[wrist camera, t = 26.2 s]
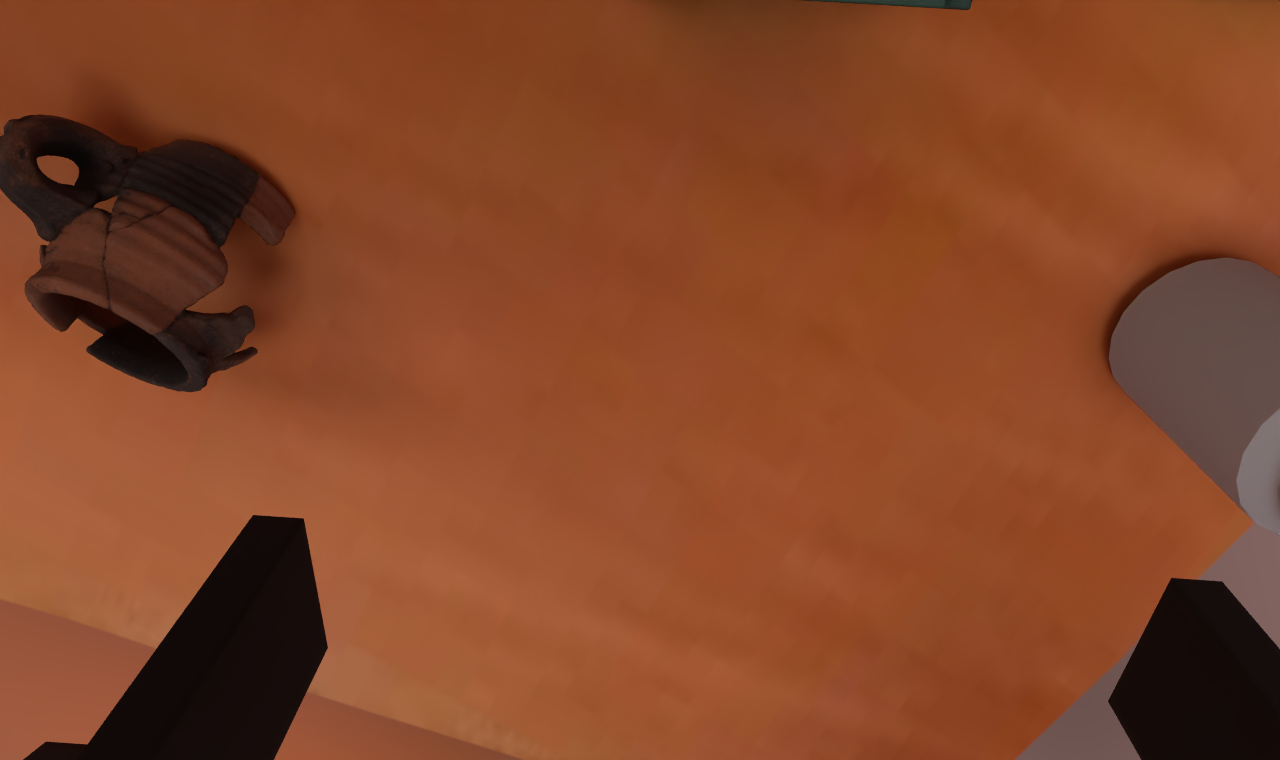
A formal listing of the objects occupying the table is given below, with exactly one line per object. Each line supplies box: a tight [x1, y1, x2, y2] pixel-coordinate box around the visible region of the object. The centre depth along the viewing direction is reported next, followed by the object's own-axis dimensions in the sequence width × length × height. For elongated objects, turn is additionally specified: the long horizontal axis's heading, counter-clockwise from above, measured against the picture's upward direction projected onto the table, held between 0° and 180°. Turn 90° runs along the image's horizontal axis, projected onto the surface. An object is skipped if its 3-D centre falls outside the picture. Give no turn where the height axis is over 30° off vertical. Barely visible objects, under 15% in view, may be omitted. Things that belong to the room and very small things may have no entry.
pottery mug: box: [0, 115, 295, 392], centre depth 33 cm, size 12×10×8 cm
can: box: [1109, 257, 1280, 535], centre depth 31 cm, size 8×8×12 cm
